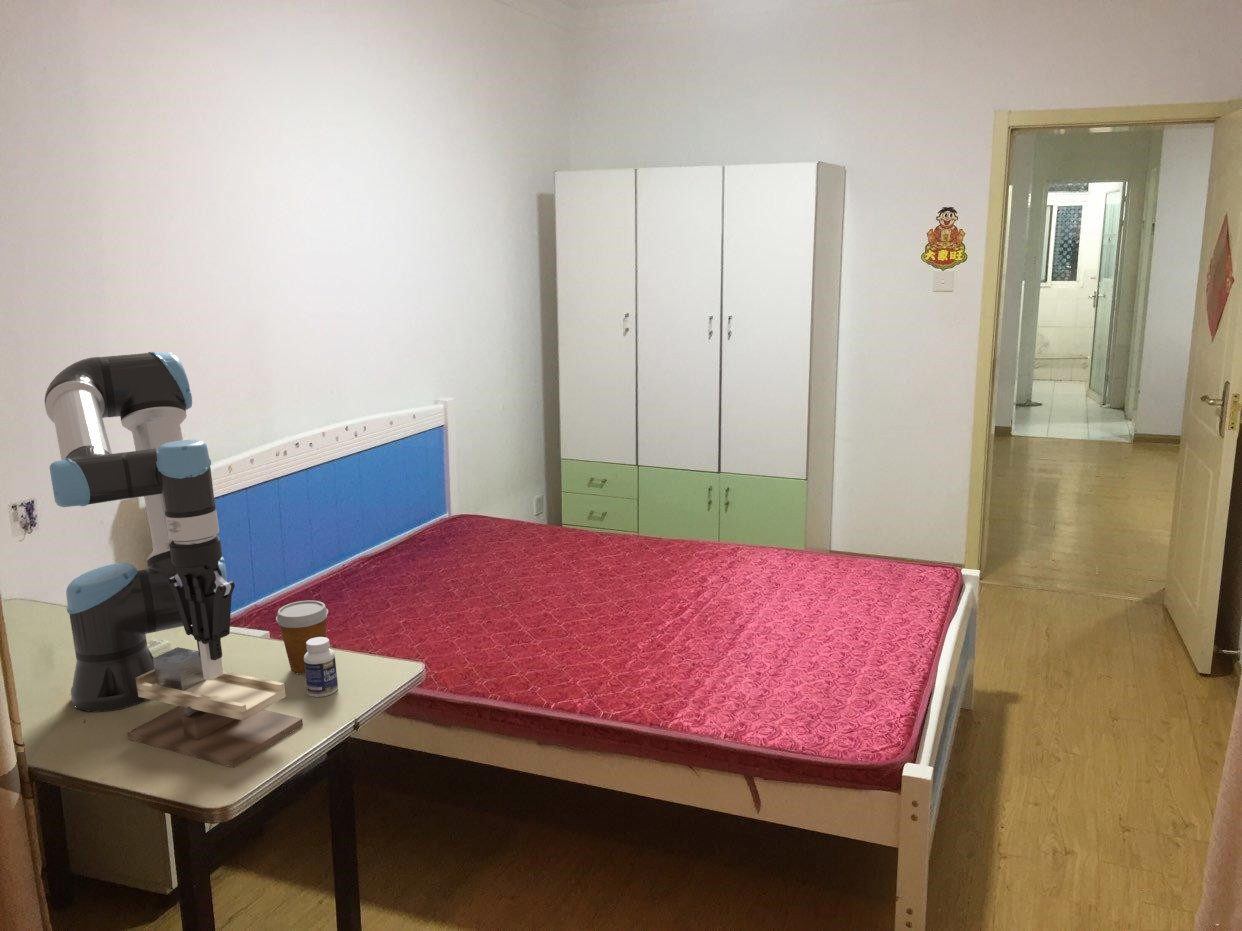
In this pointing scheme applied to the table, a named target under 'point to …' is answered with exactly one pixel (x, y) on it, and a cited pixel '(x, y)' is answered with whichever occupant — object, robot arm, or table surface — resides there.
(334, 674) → the pill bottle
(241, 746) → the stand
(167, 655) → the block
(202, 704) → the balance beam
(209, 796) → the table surface
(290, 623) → the disposable coffee cup
